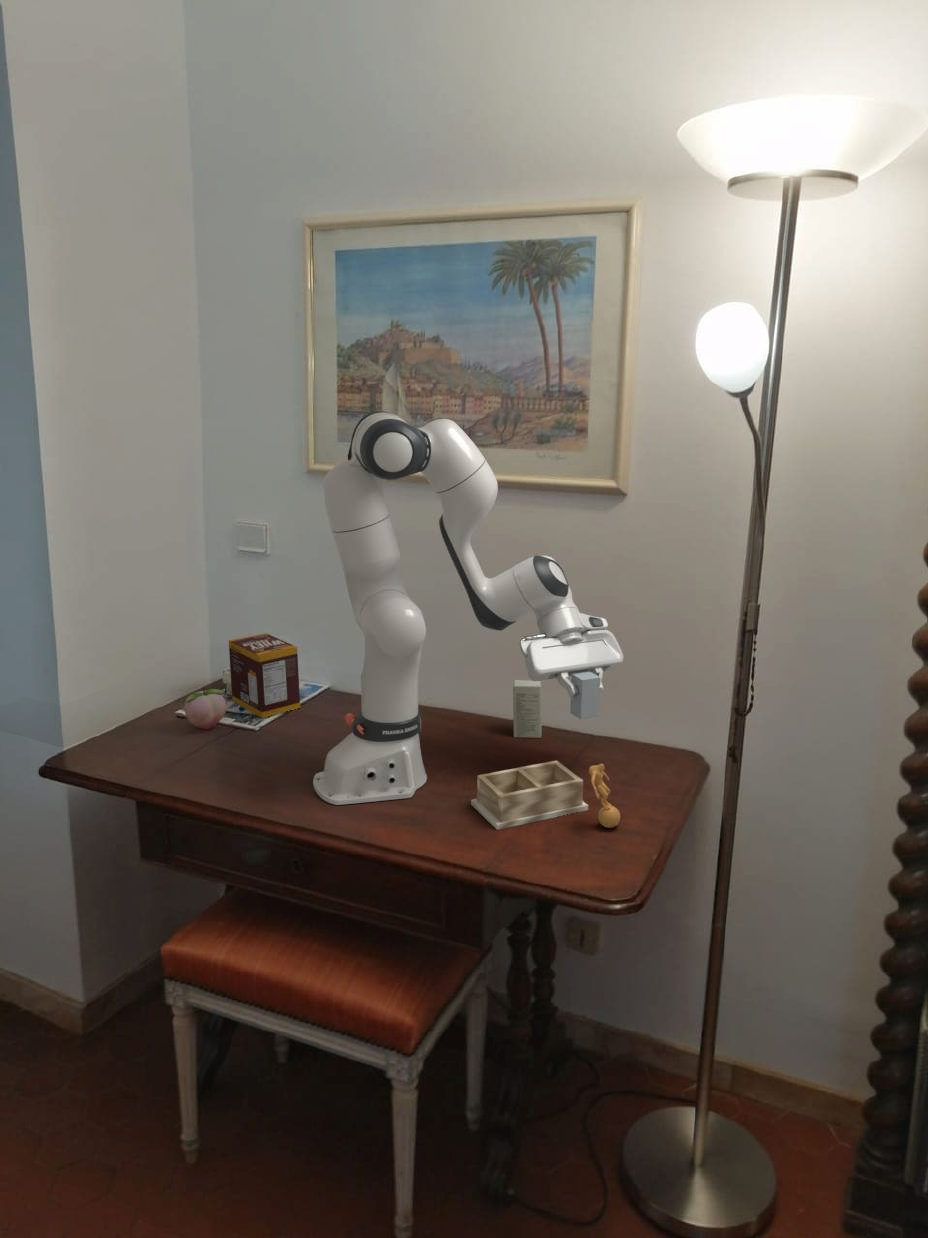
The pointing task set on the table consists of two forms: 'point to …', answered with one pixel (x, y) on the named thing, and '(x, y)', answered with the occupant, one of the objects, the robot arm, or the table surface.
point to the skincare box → (527, 708)
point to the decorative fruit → (205, 708)
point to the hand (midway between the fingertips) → (587, 693)
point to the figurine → (604, 797)
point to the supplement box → (264, 674)
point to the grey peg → (586, 695)
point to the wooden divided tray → (528, 794)
